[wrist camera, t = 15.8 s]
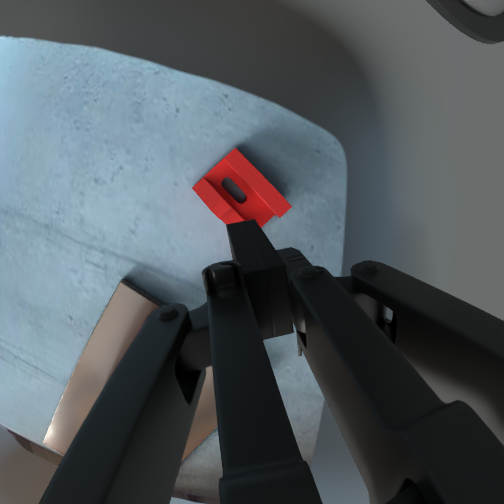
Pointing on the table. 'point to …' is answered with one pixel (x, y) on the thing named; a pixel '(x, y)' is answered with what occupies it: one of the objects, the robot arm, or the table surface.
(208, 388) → the stand
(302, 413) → the table surface
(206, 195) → the bracket
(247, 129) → the table surface
